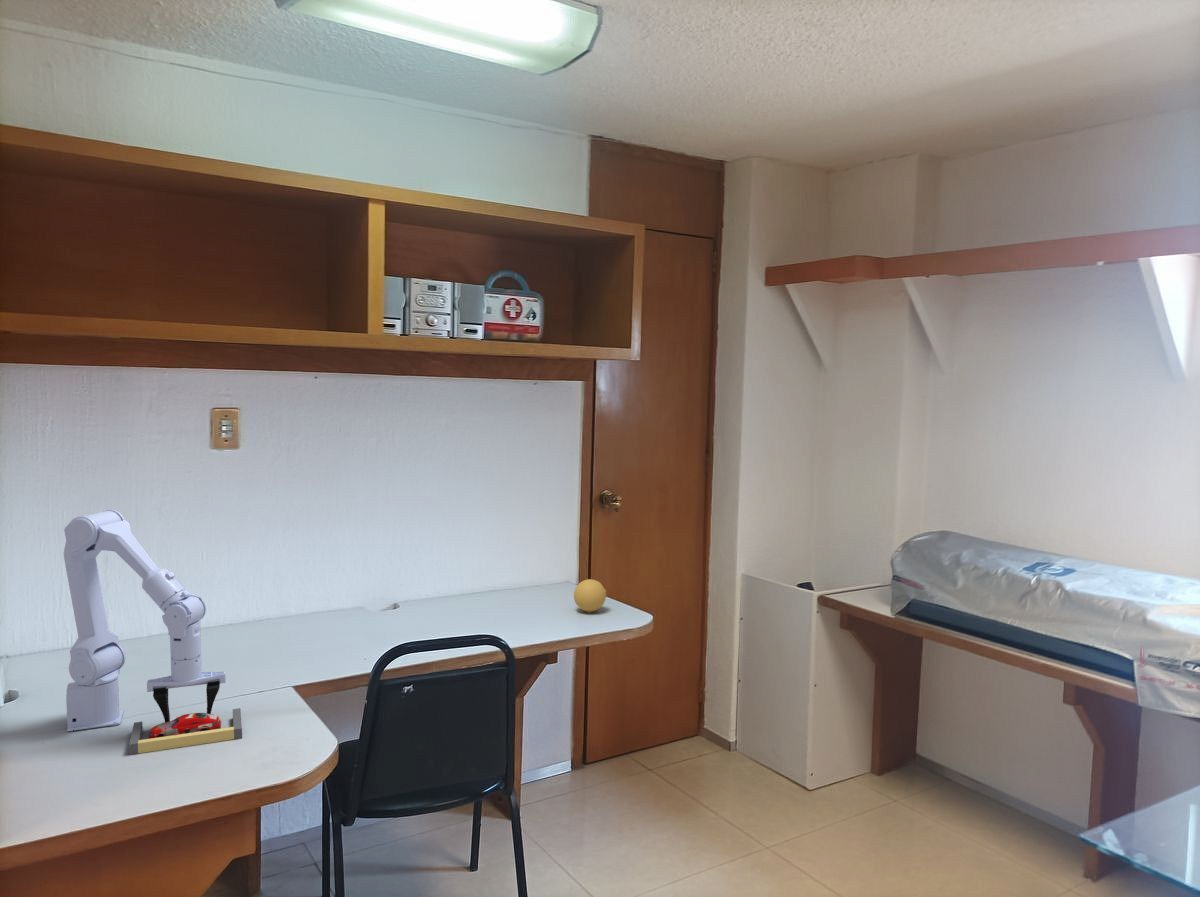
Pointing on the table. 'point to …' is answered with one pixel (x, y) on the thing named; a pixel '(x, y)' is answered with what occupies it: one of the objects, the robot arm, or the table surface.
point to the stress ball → (589, 595)
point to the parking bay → (184, 737)
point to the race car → (186, 725)
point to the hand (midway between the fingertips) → (188, 720)
